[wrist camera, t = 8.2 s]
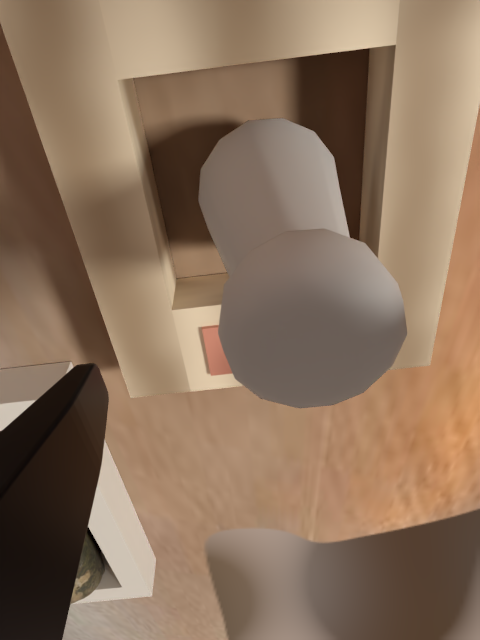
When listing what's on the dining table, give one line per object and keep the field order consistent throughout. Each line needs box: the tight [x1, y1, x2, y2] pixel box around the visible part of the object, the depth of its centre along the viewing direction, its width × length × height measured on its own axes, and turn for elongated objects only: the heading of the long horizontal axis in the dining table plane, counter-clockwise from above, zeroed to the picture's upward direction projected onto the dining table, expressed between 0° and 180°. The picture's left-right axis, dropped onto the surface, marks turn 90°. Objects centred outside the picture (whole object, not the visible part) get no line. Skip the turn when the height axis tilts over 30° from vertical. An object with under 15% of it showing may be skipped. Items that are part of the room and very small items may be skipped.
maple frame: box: [0, 0, 480, 398], centre depth 19 cm, size 16×20×3 cm
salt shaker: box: [198, 118, 407, 408], centre depth 15 cm, size 6×6×13 cm
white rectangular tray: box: [0, 361, 156, 604], centre depth 31 cm, size 12×23×3 cm, turn 6°
